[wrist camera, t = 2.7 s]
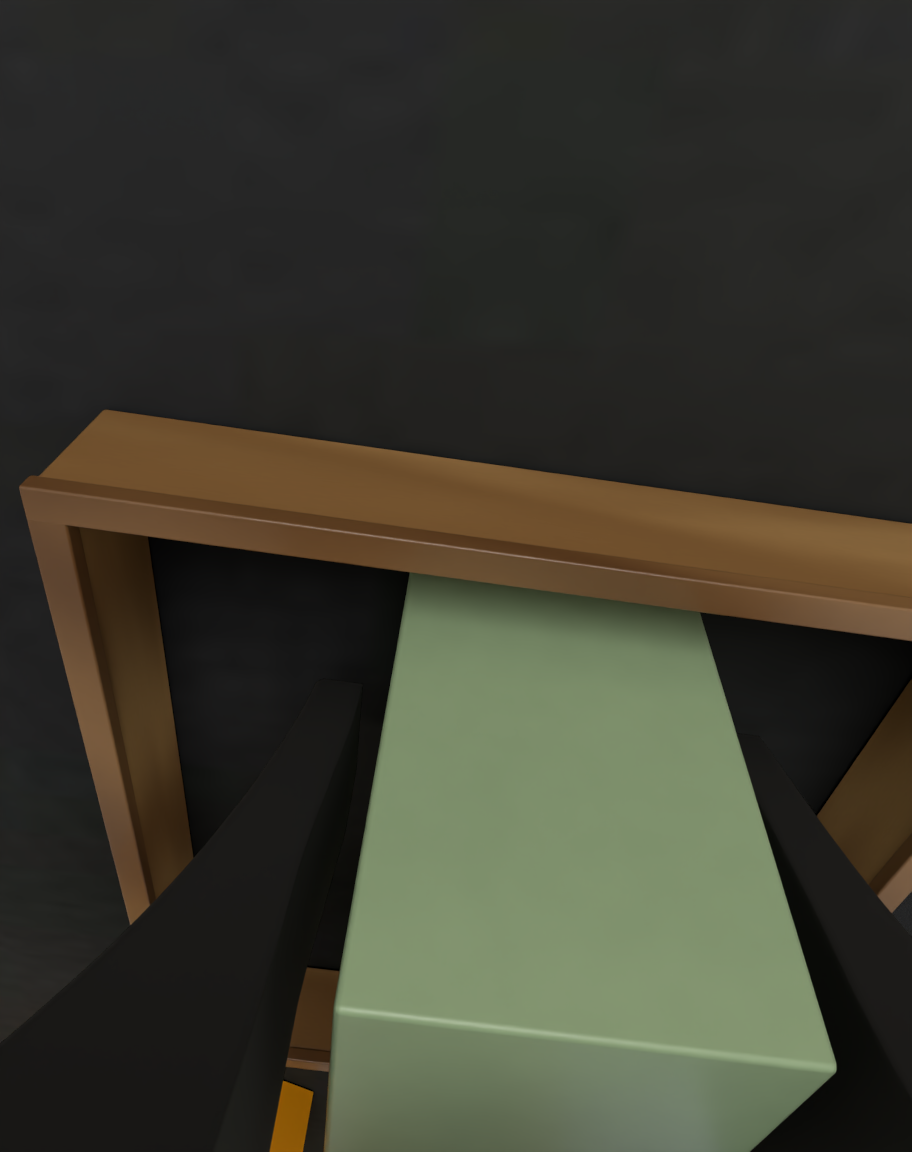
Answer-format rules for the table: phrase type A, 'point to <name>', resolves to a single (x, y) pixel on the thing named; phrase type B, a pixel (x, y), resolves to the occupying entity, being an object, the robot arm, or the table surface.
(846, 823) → the wooden frame
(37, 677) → the table surface
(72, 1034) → the robot arm
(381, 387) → the table surface
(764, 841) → the block
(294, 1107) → the orange juice
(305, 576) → the table surface
